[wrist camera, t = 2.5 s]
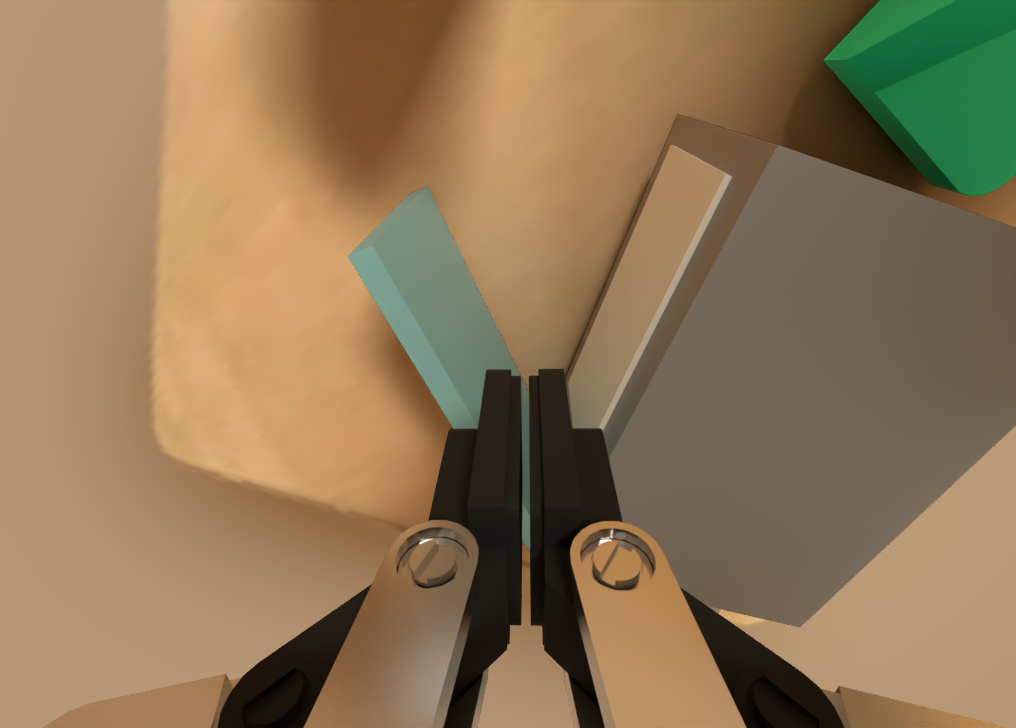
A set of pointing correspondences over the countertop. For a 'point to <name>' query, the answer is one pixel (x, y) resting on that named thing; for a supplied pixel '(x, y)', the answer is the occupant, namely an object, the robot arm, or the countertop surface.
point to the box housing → (792, 366)
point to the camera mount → (939, 85)
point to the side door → (438, 315)
